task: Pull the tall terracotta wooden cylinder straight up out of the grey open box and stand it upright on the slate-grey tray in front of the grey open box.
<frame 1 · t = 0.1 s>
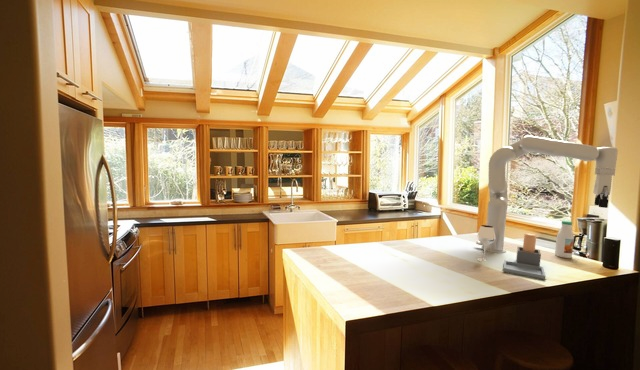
hand: (600, 206, 162), 31 cm above the table, tool pointing down, fingers open, 9 cm apart
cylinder: (527, 263, 163), resting on grey open box
milk bottle: (563, 256, 182), on the table
grey open box: (527, 264, 163), on the table
wineglass: (484, 261, 167), on the table
tray: (523, 271, 152), on the table
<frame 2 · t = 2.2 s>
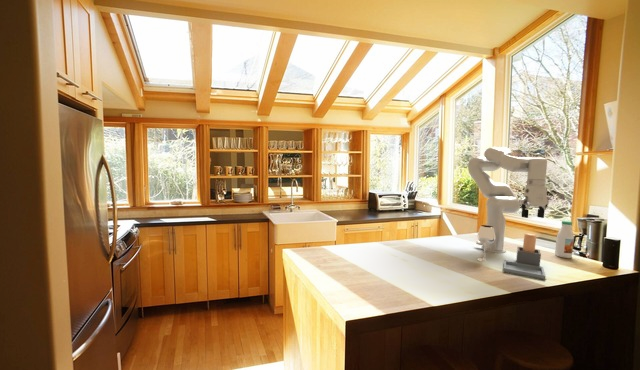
hand: (532, 217, 161), 24 cm above the table, tool pointing down, fingers open, 9 cm apart
nothing on the table moved.
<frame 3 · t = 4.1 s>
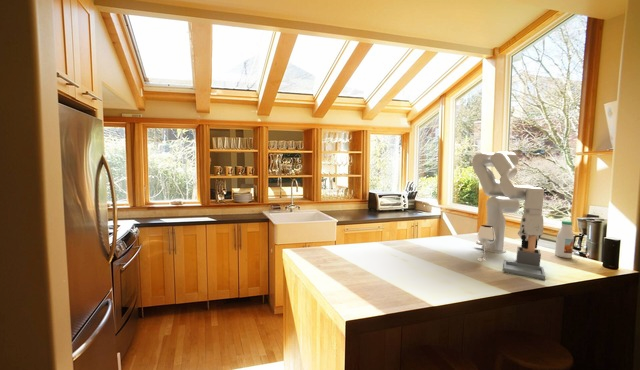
hand: (529, 247, 162), 9 cm above the table, tool pointing down, fingers closed on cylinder, 5 cm apart
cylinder: (527, 263, 163), point 1 cm above the table, touching grey open box, gripper
everything else where it was.
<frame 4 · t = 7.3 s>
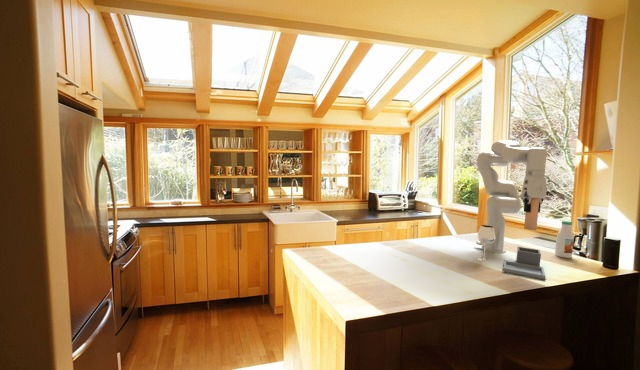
hand: (531, 211, 155), 28 cm above the table, tool pointing down, fingers closed on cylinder, 5 cm apart
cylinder: (530, 229, 155), point 20 cm above the table, touching gripper
everything else where it was.
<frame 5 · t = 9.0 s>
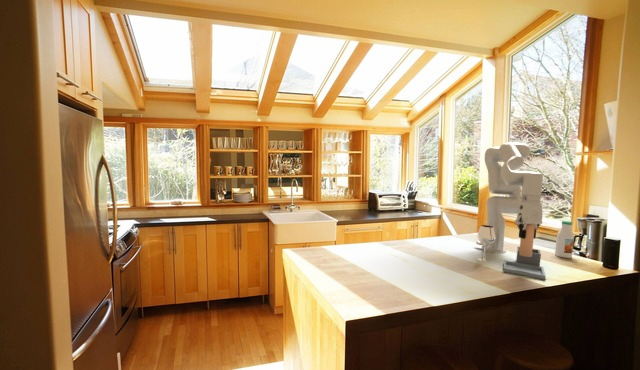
hand: (527, 237, 150), 16 cm above the table, tool pointing down, fingers closed on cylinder, 5 cm apart
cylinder: (525, 255, 151), point 8 cm above the table, touching gripper
everything else where it was.
when the fingers open (11 cm above the table, at t = 10.5 s): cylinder drops 2 cm, resting on tray.
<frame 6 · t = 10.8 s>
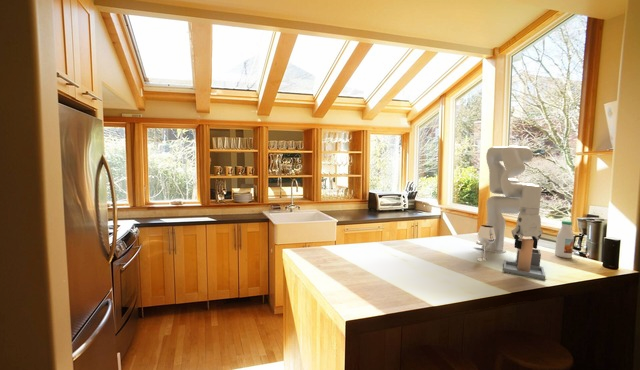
hand: (525, 248, 151), 11 cm above the table, tool pointing down, fingers open, 8 cm apart
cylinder: (523, 270, 152), point 1 cm above the table, touching tray
everything else where it was.
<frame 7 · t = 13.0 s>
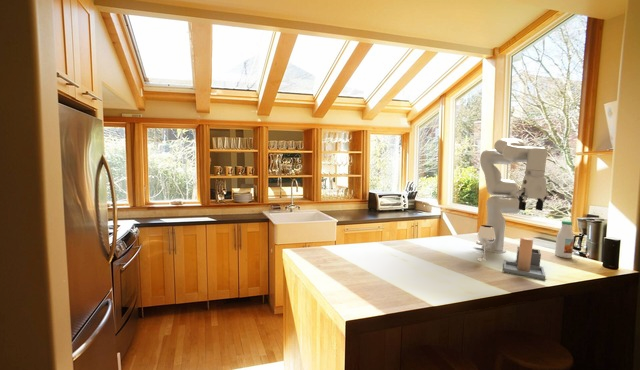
hand: (530, 209, 153), 29 cm above the table, tool pointing down, fingers open, 9 cm apart
nothing on the table moved.
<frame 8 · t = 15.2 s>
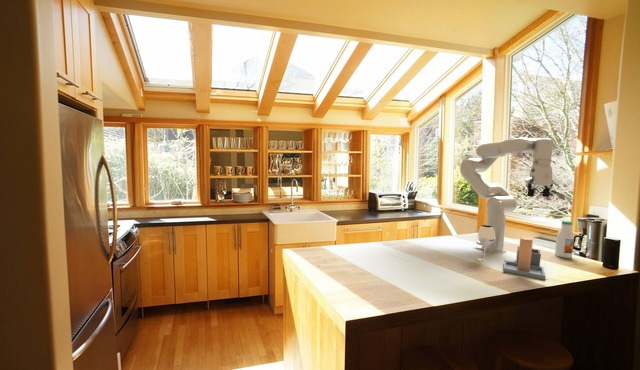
hand: (538, 196, 165), 34 cm above the table, tool pointing down, fingers open, 9 cm apart
nothing on the table moved.
at the end: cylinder inside the target area on the tray (0.0 cm from its centre), point 0.6 cm above the tray's base; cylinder tilted 0°; the gripper is holding nothing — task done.
